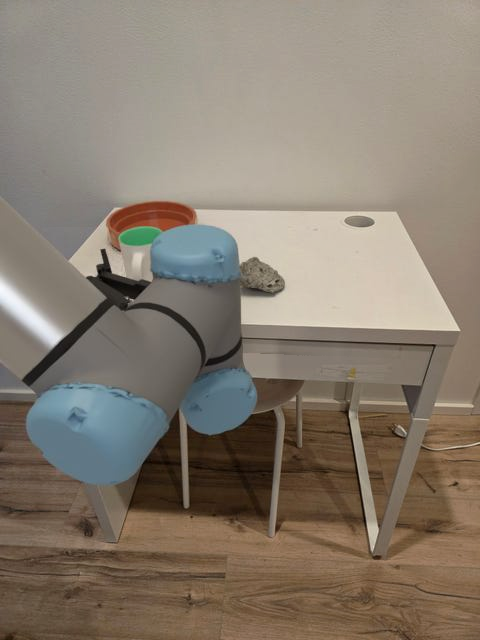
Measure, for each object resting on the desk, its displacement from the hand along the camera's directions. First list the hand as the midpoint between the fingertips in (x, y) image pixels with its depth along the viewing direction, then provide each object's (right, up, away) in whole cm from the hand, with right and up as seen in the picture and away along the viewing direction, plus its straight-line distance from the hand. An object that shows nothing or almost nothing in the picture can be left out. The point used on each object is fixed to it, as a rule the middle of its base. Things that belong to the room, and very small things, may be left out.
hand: (148, 248), depth 69 cm
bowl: (-6, +9, +35) cm, 36 cm away
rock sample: (+19, -5, +16) cm, 25 cm away
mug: (-3, -6, +16) cm, 17 cm away
